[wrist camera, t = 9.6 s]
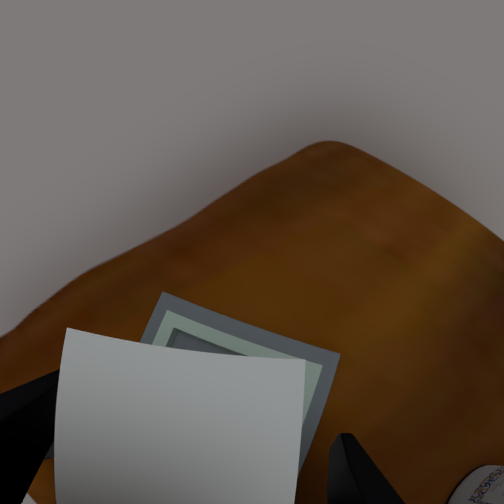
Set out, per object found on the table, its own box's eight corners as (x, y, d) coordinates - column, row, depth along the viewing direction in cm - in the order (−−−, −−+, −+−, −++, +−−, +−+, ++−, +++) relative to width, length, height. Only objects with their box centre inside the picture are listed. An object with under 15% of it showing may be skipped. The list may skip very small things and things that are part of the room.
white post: (255, 457, 14) (283, 571, 3) (171, 447, 14) (58, 523, 3) (261, 379, 17) (305, 359, 5) (178, 370, 17) (67, 327, 5)
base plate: (275, 517, 13) (278, 529, 11) (102, 449, 14) (88, 454, 13) (336, 355, 18) (347, 351, 16) (165, 295, 19) (158, 285, 18)
